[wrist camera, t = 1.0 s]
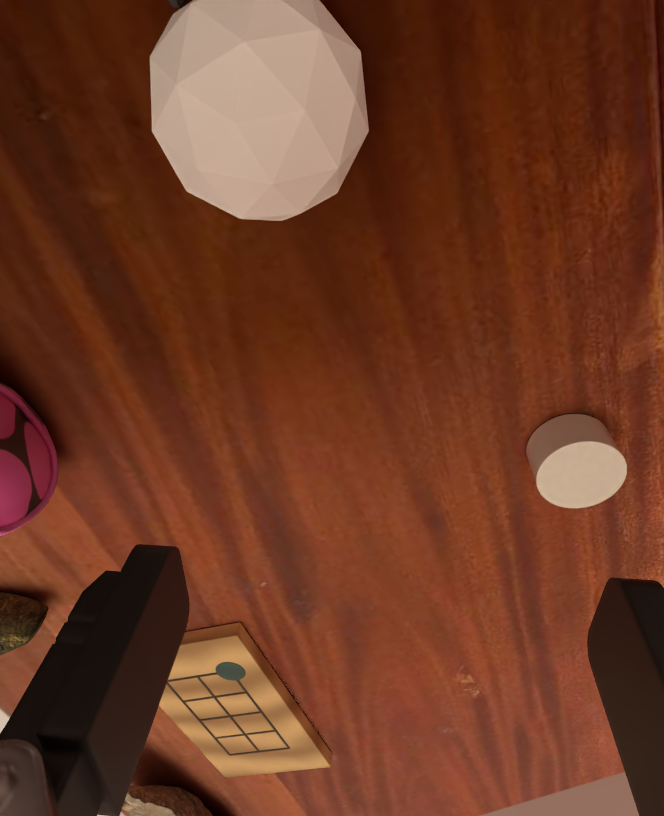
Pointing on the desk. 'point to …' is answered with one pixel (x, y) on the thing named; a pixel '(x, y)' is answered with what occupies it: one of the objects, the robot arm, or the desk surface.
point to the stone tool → (162, 802)
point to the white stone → (575, 461)
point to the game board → (238, 706)
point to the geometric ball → (258, 104)
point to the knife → (177, 3)
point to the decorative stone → (19, 620)
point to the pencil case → (23, 462)
